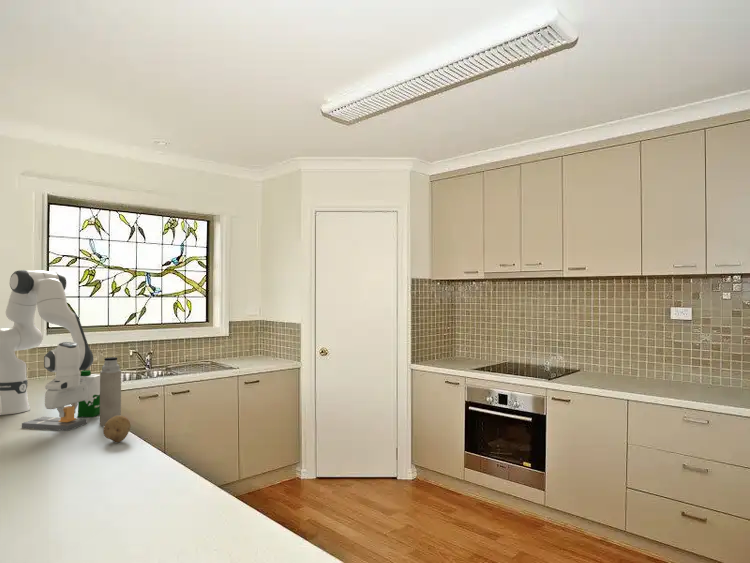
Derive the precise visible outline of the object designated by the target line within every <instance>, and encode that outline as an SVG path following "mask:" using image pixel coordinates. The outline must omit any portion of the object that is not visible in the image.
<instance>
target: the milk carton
mask: <svg viewBox="0 0 750 563" xmlns="http://www.w3.org/2000/svg"><path fill="white" fill-rule="evenodd" d="M80 379H85V380H86V384H87V387H88V398H87V400H84V401H80V402H78V405H77V418H94V417H97V416H100V373H99V374H98V373H92V372H91V370H88V369H86V370H80Z"/></svg>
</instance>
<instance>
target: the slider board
mask: <svg viewBox="0 0 750 563" xmlns="http://www.w3.org/2000/svg"><path fill="white" fill-rule="evenodd" d="M75 418H76V420H73V421H70V422H59V420H61V417H56V416H55V417H54V416H42V417H37V418H35V419H31V420H29V421H28V420H27V421H24V422H21V429H29V428H34V429H33V430H47V429H50V430H49V431H67V432H68V431H70V430H73V429H75V428H78V426H79V427H82V426H84V425H86V424H87V423H88V422H87V421H88V419H87V418H78V417H75ZM81 425H82V426H81Z"/></svg>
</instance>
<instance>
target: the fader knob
mask: <svg viewBox="0 0 750 563" xmlns="http://www.w3.org/2000/svg"><path fill="white" fill-rule="evenodd" d="M63 410H64V412H66V416H65V417H60V418H61V420H59V422H70V421H73V420H76V418H77V417H75V414H74V406H72V405H66V406H64V409H63Z"/></svg>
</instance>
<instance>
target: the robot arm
mask: <svg viewBox="0 0 750 563" xmlns="http://www.w3.org/2000/svg"><path fill="white" fill-rule="evenodd" d="M9 286H10V289H11V293H10V294H9V299H8V302H7V306H6V309H5V316H6V318H8V320H9V321H11V322H13V323H14V324H13V326H12V327H1V328H0V416H4V415H12V414H19V413H25V412H28V411H30V410H31V407H30V404H29V398H28V397H29V395H28V390H27V389H28V379H27V367H28V366H27V363H26V362H25V361H24V360H23V359H21V358H18V357H17V355H16V352H17V351H24V350H26V351H27V350H30V349H34V348H37V347H39V346H41V344H42V342H43V338H44V337H43V333H42V331H41V330H40V329H39V328H38V327H37V326H36V323H35V313H36V310H37V311H38V316H39V317H40V318H41V319H42V320H43V321H45V322H47V323H49V324H51V325H56V326H59V327H62V328H64V329H66V330H67V331H69V333H70V335H71V338H72V342H71V341H63V342H60V343H58V344H57V346H56V348H54V349H52V350H49V351H48V352H46V354H45V355H44V357H43V366H44V369H46V370H47V371H48V372H50V373H55V378H53V379H52V380H51V381H49V382H47V383H46V384H45V386H44V388H45V390H46V391H45V392H44V393H45V395H44V407H45V409H46V410H57V412H58V413H59V416H58V418H61V417H65V416H66V412H64V410H63V409H64V407H66V406H74V415H75V414H76V410H77V409H78V402H80V401H84V400H87V398H88V387H87V384H86V380H85V379H80V375H81V371H84V370H88V369H89V368H90V367H91V366H92V365H93V363H94V353H93V351H92V350H91V348H90V345H89V343H88V341H87V337H86V334H85V331H84V329H83V325H82V324H81V321H80V318H79V316H78V315H77V313H75V312H73V311H72V310H71V308H70V307H69V306H68V301H67V297H66V292H65V290H66V288H67V278H66V277H65V275H64V274H62V273H61V272H57V271H49V270H25V269H21V270H20V269H19V270H16V271H14V272H13V273H12V274H11V276H10V278H9Z"/></svg>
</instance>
